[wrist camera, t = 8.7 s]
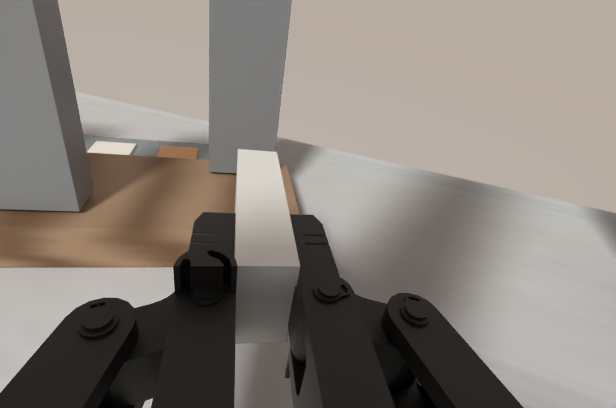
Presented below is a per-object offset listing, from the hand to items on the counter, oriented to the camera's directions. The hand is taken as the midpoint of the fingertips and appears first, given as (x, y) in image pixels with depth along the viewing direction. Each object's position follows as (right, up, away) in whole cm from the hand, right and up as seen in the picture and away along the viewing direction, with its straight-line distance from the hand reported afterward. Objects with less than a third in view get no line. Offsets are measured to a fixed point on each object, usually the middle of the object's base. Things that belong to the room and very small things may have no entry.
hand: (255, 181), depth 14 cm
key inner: (-3, +2, +15) cm, 15 cm away
